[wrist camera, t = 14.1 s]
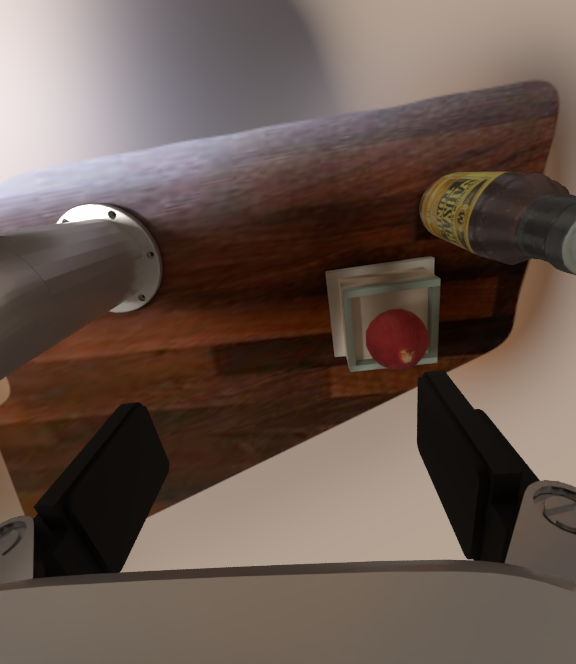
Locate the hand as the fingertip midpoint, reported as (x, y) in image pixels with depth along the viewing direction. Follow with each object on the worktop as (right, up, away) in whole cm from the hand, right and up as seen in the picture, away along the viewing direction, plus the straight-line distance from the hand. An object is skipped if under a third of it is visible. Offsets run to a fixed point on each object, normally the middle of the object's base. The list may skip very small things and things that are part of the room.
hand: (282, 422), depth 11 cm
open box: (+11, +6, +28) cm, 31 cm away
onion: (+11, +4, +23) cm, 26 cm away
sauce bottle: (+17, +16, +23) cm, 33 cm away
